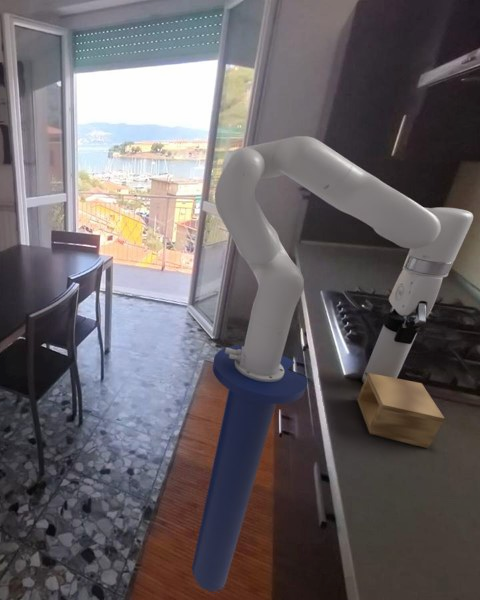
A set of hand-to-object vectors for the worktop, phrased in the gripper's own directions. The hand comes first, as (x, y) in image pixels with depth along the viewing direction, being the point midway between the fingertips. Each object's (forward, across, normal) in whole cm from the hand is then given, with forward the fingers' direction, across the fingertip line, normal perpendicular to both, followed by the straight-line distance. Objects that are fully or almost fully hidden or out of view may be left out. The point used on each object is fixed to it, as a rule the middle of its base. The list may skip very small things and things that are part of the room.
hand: (397, 334), depth 86 cm
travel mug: (+15, 0, 0) cm, 15 cm away
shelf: (+15, +15, -1) cm, 21 cm away
